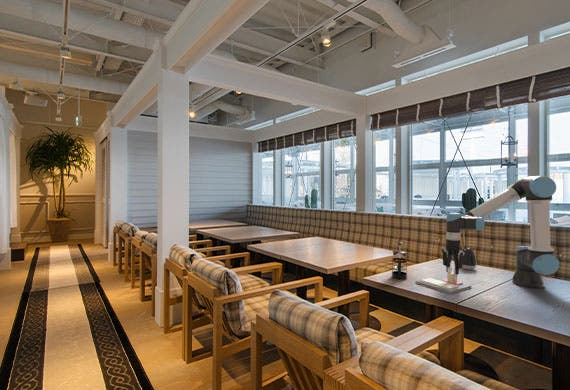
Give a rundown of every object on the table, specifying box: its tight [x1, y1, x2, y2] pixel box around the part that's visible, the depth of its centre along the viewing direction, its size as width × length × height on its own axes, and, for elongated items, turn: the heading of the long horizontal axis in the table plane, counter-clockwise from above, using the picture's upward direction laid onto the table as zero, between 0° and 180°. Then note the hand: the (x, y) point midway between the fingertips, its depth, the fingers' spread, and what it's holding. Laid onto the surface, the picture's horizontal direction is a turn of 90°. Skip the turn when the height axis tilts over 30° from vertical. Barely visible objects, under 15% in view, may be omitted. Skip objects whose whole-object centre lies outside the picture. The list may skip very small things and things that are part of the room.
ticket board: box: [415, 275, 472, 295], centre depth 190 cm, size 22×20×2 cm
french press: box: [391, 241, 408, 281], centre depth 206 cm, size 12×9×23 cm
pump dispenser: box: [460, 247, 478, 271], centre depth 228 cm, size 10×10×15 cm
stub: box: [442, 271, 464, 285], centre depth 190 cm, size 9×6×6 cm, turn 31°
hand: (452, 278), depth 190 cm, fingers closed on stub, 3 cm apart
